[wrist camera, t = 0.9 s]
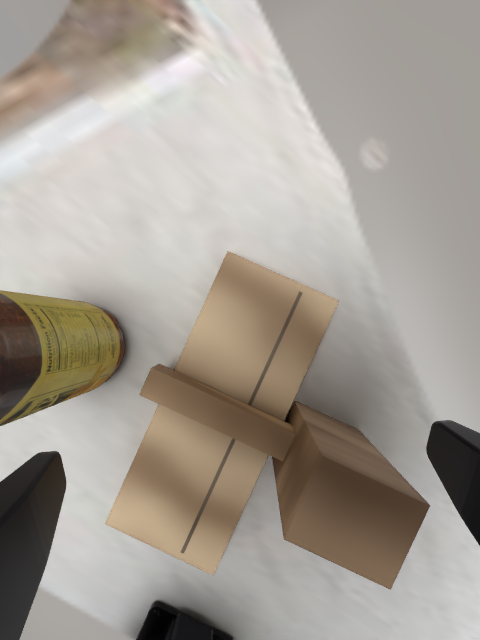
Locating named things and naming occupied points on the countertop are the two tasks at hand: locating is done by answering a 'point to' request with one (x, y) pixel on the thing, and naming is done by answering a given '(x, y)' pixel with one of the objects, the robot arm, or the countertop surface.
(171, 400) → the gauge
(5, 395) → the sauce bottle
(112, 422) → the countertop surface
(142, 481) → the board
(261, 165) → the countertop surface
